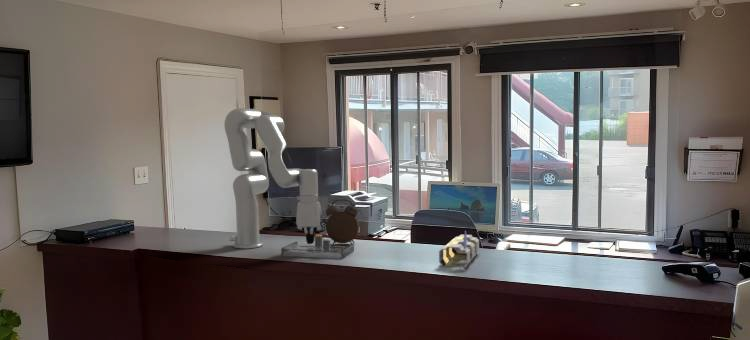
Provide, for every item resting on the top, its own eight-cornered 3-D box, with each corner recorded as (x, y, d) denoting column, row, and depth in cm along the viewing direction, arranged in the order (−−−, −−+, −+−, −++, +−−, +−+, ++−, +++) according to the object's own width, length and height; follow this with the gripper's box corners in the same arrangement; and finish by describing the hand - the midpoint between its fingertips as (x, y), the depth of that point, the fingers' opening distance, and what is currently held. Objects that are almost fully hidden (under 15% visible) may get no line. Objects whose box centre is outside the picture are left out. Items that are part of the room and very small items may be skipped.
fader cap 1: (315, 246, 226) (314, 235, 226) (316, 245, 228) (316, 234, 228) (320, 246, 226) (320, 235, 225) (322, 245, 227) (322, 234, 227)
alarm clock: (360, 242, 244) (359, 198, 243) (358, 246, 237) (357, 200, 236) (328, 242, 246) (327, 198, 245) (325, 246, 239) (324, 200, 237)
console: (281, 256, 220) (281, 248, 220) (295, 249, 233) (295, 241, 233) (343, 258, 213) (343, 250, 213) (354, 251, 227) (353, 243, 226)
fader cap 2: (323, 250, 218) (322, 238, 218) (324, 249, 220) (324, 238, 219) (329, 250, 217) (328, 239, 217) (330, 249, 219) (330, 238, 219)
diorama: (467, 269, 194) (467, 232, 193) (439, 267, 198) (438, 231, 197) (479, 254, 218) (479, 222, 217) (453, 253, 221) (453, 221, 220)
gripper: (288, 200, 225) (289, 244, 226) (323, 200, 221) (324, 245, 222) (295, 198, 232) (297, 241, 233) (329, 198, 228) (330, 242, 229)
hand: (310, 243), depth 228 cm, fingers closed
